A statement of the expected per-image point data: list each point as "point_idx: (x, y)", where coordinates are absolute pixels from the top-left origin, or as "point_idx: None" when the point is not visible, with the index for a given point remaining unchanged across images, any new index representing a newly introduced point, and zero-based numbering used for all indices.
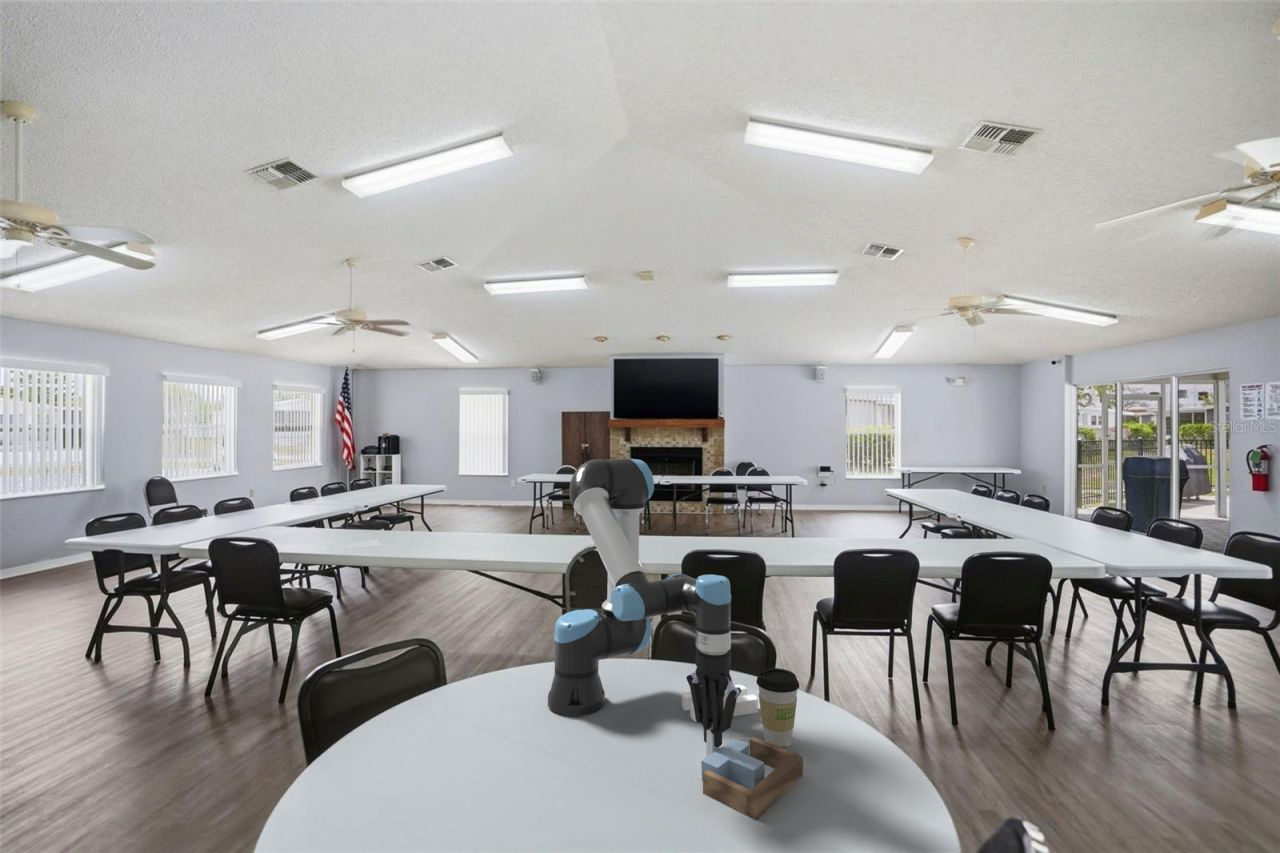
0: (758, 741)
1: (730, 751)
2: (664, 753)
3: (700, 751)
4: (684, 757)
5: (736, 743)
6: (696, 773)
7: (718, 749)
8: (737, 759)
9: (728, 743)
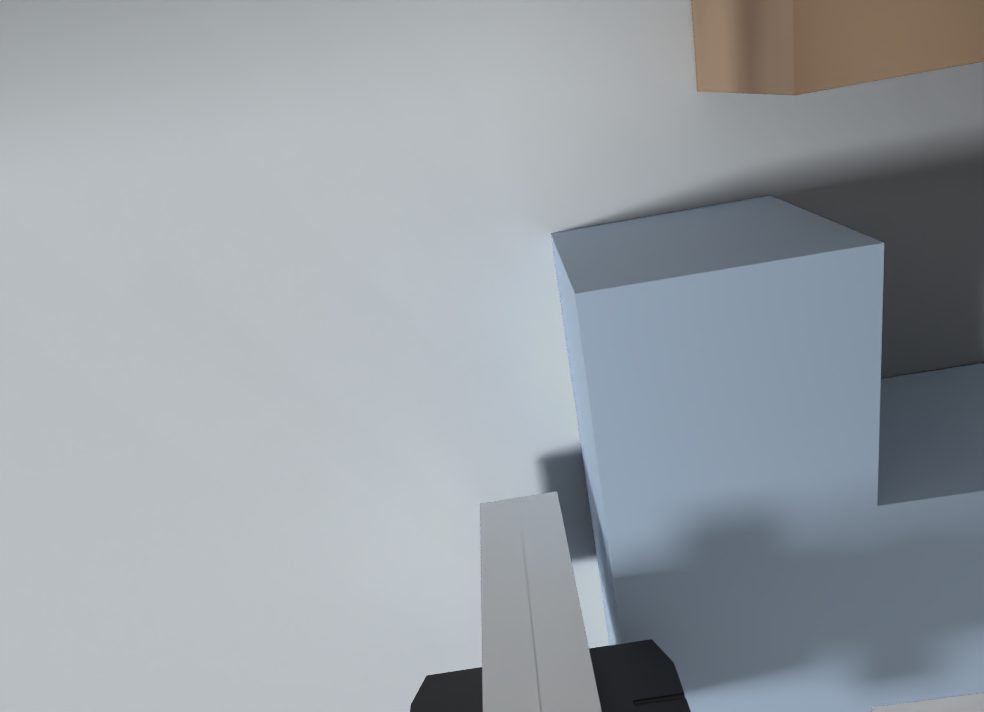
0: (971, 22)
1: (775, 572)
2: (94, 707)
3: (245, 444)
4: (251, 623)
5: (710, 369)
6: None
7: None
8: (957, 636)
9: (619, 451)
